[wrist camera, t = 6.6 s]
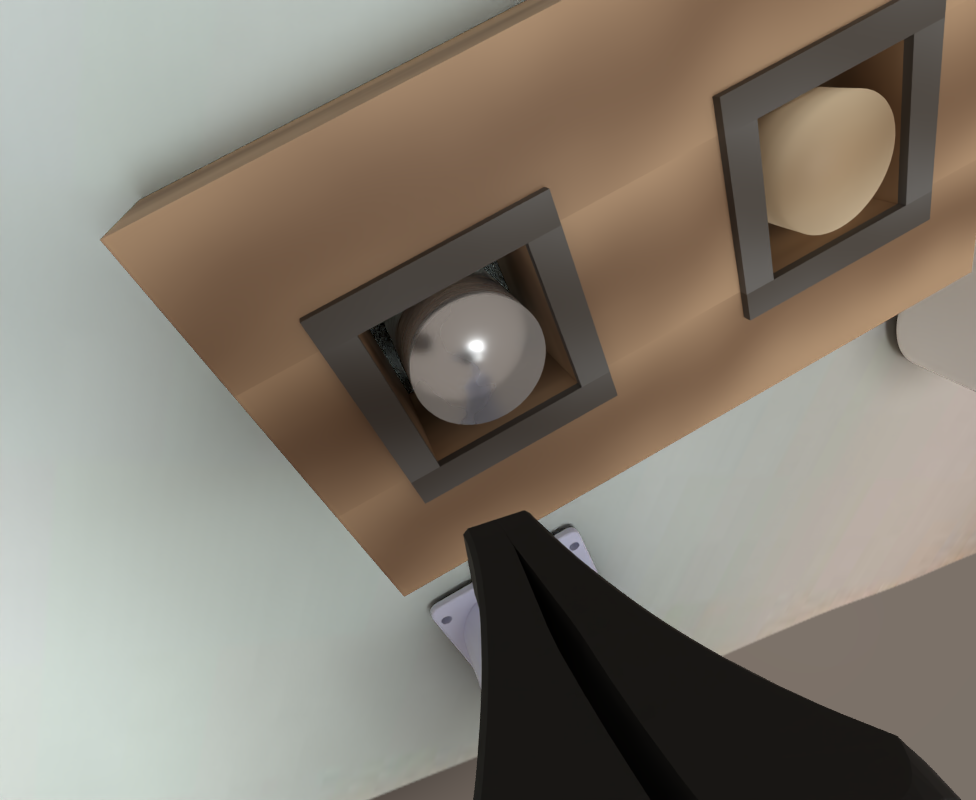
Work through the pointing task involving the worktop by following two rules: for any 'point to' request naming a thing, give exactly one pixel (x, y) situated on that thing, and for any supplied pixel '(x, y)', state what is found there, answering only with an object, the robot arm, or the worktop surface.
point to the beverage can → (943, 331)
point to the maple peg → (824, 157)
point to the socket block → (558, 243)
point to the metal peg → (469, 350)
